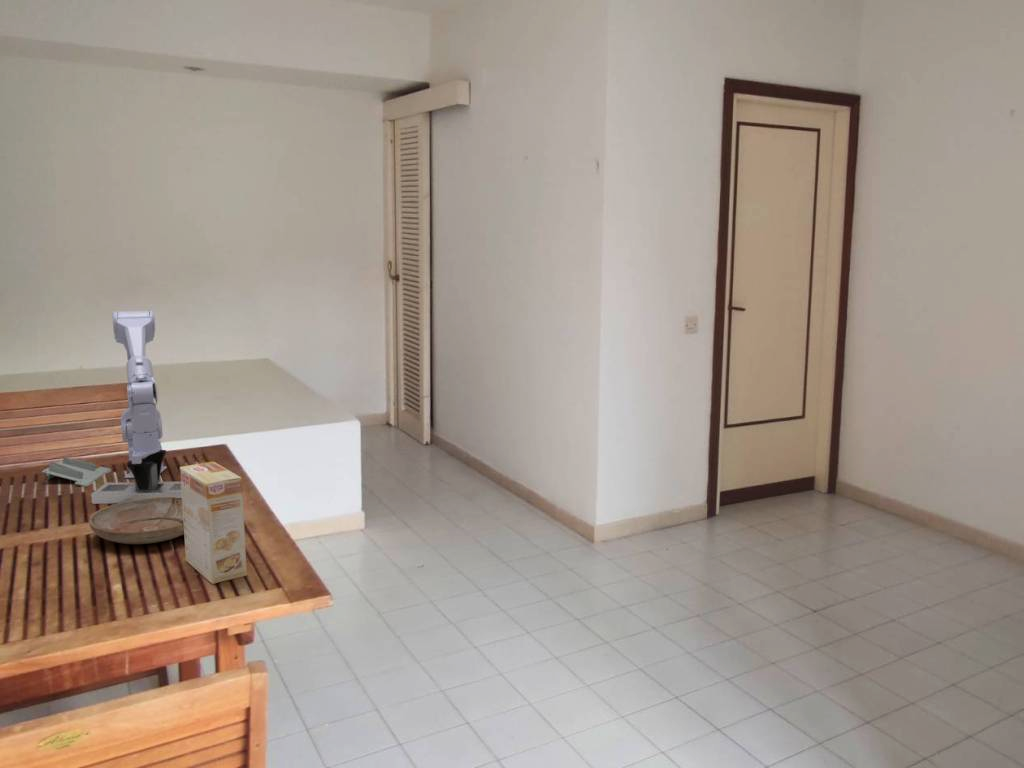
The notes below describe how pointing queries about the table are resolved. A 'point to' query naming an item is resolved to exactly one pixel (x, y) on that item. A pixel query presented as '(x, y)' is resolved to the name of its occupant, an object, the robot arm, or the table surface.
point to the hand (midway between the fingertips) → (149, 484)
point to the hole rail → (133, 492)
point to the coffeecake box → (213, 521)
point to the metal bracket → (76, 471)
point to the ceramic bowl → (140, 521)
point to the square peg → (151, 480)
